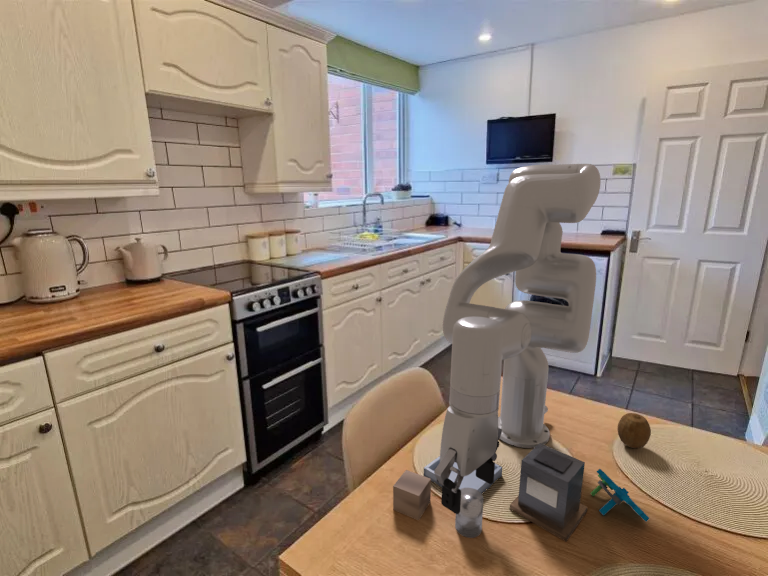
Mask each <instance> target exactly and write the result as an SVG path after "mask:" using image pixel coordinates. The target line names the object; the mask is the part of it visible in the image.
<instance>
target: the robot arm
mask: <svg viewBox="0 0 768 576" xmlns="http://www.w3.org/2000/svg"><path fill="white" fill-rule="evenodd" d="M600 189H601V174H600V172H599V169H598V167H596V165H594V164H591V163H565V164H564V163H562V164H561V163H560V164H534V165H525V166H521V167H518V168H516V169H514V170H513V171H512V172H511V173H510V175H509V177H508V183H507V185H506V187H505V189H504V193H503V196H502V199H501V203H500V207H499V211H498V213H497V214H498V215H497V219H496V222H495V224H494V229H493V232H492V236H491V240H490V244H489V246H488V248H487V249H486V250H484V251H483V252H482V253H481V254H479V255H478V256H476V257H475V258H474V259H473V260H471V262H470V263H469V264H468V265H466V266H465V268H463V270H461V272H460V273H459V274H458V276H457V277H456V279H455V280H454V282H453V284H452V286H451V289H450V292H449V295H448V299H447V303H446V306H445V311H444V314H443V319H442V332H443V336H444V338H445V339H446V340H447V341H448V342H449V343H450V344H451V360H450V361H451V362H450V363H451V364H450V378H449V379H450V380H449V381H450V383H449V384H450V385H449V398H448V399H449V400H448V401H449V402H448V403H449V404H448V405H449V406H448V407H447V409H446V412H445V416H444V419H443V425H442V426H443V427H442V432H441V441H440V449H439V451H440V452H439V456H440V463H439V465H438V466H437V468H436V469H435V471H434V474H435V476H436V478H437V482H438V483H440V484H441V485H442V487H441V500H440V502H441V505H442V506H443V507H444V508H446V509H447V510H449V511H451V512H452V513H453V514H455V515H456V514H458V513H460V505H461V490H460V489H459V487H460V485H461V482H462V480H463V478H464V476H467V475H469V474H471V473H472V472H473V471H475V470H476V477H478V478H479V479H481V480H483V481H485V482H487V483H489V484H492V483H493V482H494V470H495V464H496V461H497V458H498V455H497V451H498V449H499V447H500V440H501V441H502V442H504V443H506V444H509V445H511V446H513V445H514V447H518V448H523V449H524V448H525V449H534V448H535V447H536V446H537V445H538V444H539V443H541V444H544V445H546V444H547V443H548V442H549V440H550V436H551V435H550V433H551V432H550V430H549V428H548V427H547V426H546V424H545V423H544V421H545V414H546V413H547V412H548V411H549V408H548V406H547V405H546V400H547V388H548V380H549V379H548V377H549V362H548V359H547V356H546V355H545V352H544V351H543V348H544V349H548V350H549V349H550V350H554V351H559V352H565V353H572V354H575V353H581V352H582V351H584V350H585V349H586V347H587V345H588V342H589V338H590V331H591V324H592V314H593V308H594V300H595V292H596V283H597V268H596V264H595V262H594V260H593V259H592V258H591V257H589V256H587V255H585V254H584V255H583V254H578V253H577V254H576V253H565V252H561V247H562V239H563V227H562V225H561V224H575V223H576V224H577V223H581V222H582V221H583V220H585V218H586V217H587V216H588V214H589V212H590V210H591V209H592V207H594V204H595V203H596V201H597V198H598V196H599V193H600ZM514 272H515V276H514V280H515V281H514V282H515V287H516V288H517V290H518V291H520V292H521V293H523V294H528V295H533V296H538V297H539V296H540V297H545V298H546V297H547V298H555V299H562V300H565V301H566V302H568V305H563V304H556V303H555V304H552V303H548V302H540V301H536V300H535V301H533V300H514V301H512V302H510V303H509V304H507V305H506V307H505V308H499V307H495V306H489V305H482V304H474V303H471V300H472V297H474V294H475V293H476V292H477V290H479V289H480V288H481V286H483V285H485V284H486V283H487V282H489V281H491V280H494V279H496V278H499V277H502V276H505V275H508V274H511V273H514ZM502 366H503V368H502ZM502 373H503V374H502ZM501 381H502V382H501ZM501 383H502V385H501ZM501 386H502V387H501ZM500 393H501V394H500ZM500 395H501V399H500ZM500 400H501V403H500ZM499 407H500V413H499ZM499 414H500V415H499ZM454 462H455V463H457V466H458V469H459V470H458V469H457V468H455V467H453V464H454ZM451 471H453V472H455V473H457V477H456V479H455V481H454V482H453V481H451V480H450V479H448V478H449V476H450V474H451Z"/></svg>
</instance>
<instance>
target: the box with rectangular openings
mask: <svg viewBox="0 0 768 576" xmlns="http://www.w3.org/2000/svg"><path fill="white" fill-rule="evenodd" d="M585 463H586V462H585V461H582V460H580V459H579V458H577V457H573V456H571V455H569V454H566V453H564V452H562V451H559V450H558V449H555V448H553V447H550V446H548V445H546V444H545V445H544V444H541V443H539V444H538V445H537V446H536V447H535V448H532V449H531V451H530V452H528V453H527V454H526V455H525V456H524V457H523V458H522V459H521V462H520V475H519V487H518V489H519V490H518V495H517V497H515V498H514V500H512V502H511V503H510V504H509V510H510V509H511V510H510V511H512V510H513V511H514V512H513V511H512V512H513V513H515V512H516V514H517V515H519V516H520V515H521V516H520V517H521V518H524V519H525V520H527V519H528V520H527V521H530V522H531V523H533V524H534V525H537V526H538V527H539V528H541V529H543V530H545V531H547V532H549V533H550V534H552V535H553V536H555V537H557V538H558V539H561V540H562V541H564V542H568V540H569V539H570V537H571V536H572V535H573V533H574V531H575V530H576V528H577V527H578V525H579V524H580V523H581V521H582V520H583V518H584V517H585V515H586V514H587V512H588V506H586V505H585V504H583V503H581V497H582V490H583V489H582V488H583V480H584V475H585Z"/></svg>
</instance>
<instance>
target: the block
mask: <svg viewBox="0 0 768 576" xmlns="http://www.w3.org/2000/svg"><path fill="white" fill-rule="evenodd" d="M431 485H432V481H431V479H430V478H428V477H425V476H424V475H421V474H419V473H416V472H413V471H410V470H407V469H406V470H405V471H404V472H403V473H402V474H401V476H400V477H399V478H398V479H397V480H396V481H395V483H394V484H393V485H392V490H393V491H392V509H393V511H395V512H398V513H400V514H402V515H405V516H406V517H409V518H412V519H414V520H417V521H420V520H421V517H422V516H423V515H424V513H425V511H426V509H428V506H429V505H430V504H431V497H432V496H431V489H432V486H431Z"/></svg>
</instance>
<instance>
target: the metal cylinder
mask: <svg viewBox="0 0 768 576" xmlns="http://www.w3.org/2000/svg"><path fill="white" fill-rule="evenodd" d="M460 490H461V505H460V513H458V514H455V517H454V518H455V520H454V521H455V522H454V527H455V530H456V532H457V533H458V534H459V535H461V536H463V537H465V538H469V539H474V538H477V537H479V536H480V535H481V534H482V529H483V516H484V513H483V512H484V511H483V510H484V495H483V494H481V493H480V492H479V491H478V490H476V489H473V488H462V489H460Z"/></svg>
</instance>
